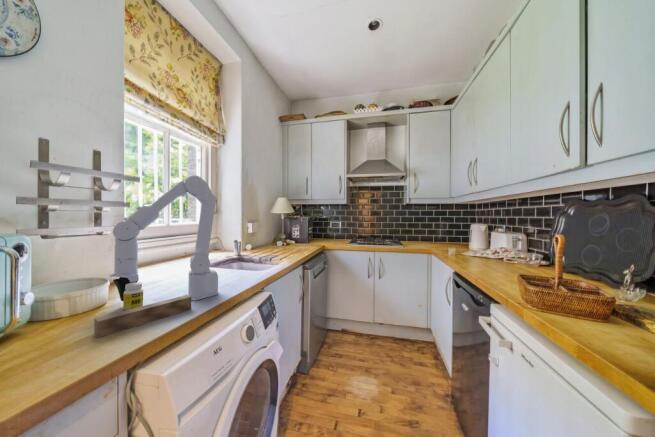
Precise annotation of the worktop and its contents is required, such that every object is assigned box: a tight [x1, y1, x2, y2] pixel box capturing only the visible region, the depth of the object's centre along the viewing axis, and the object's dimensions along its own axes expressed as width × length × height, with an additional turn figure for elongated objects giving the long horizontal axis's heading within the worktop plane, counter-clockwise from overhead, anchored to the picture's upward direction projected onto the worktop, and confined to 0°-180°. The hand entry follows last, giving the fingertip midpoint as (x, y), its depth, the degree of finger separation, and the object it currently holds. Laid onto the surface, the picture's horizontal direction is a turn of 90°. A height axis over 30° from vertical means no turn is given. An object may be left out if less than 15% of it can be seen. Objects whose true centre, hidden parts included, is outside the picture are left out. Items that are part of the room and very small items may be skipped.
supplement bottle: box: [122, 281, 144, 311], centre depth 73 cm, size 5×5×8 cm
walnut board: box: [93, 294, 192, 339], centre depth 67 cm, size 22×3×4 cm, turn 147°
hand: (125, 300), depth 77 cm, fingers closed
